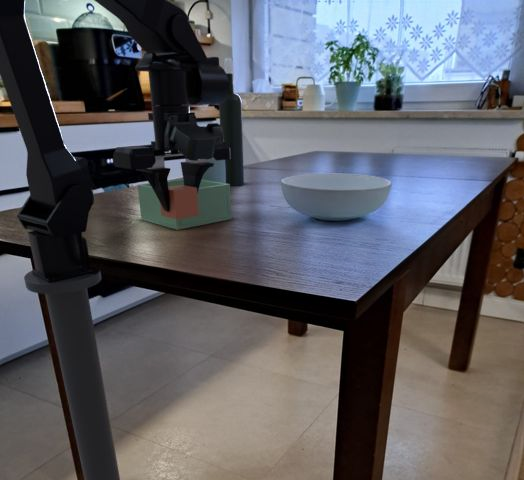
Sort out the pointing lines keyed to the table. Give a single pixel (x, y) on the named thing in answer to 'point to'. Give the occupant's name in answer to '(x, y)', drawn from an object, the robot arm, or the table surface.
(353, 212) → the serving bowl
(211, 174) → the cup
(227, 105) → the wine bottle
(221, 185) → the green storage bin
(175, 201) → the terracotta block
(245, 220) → the table surface
